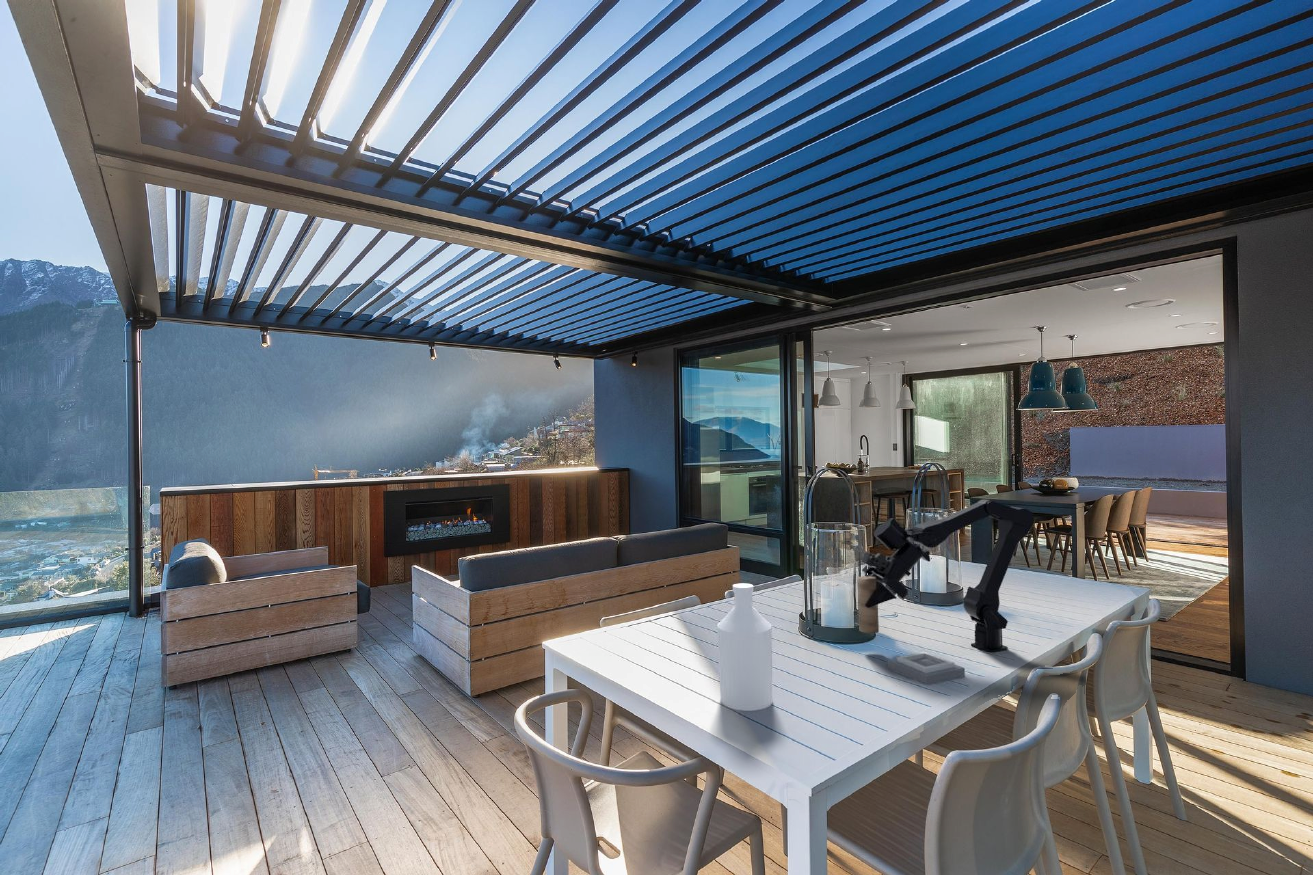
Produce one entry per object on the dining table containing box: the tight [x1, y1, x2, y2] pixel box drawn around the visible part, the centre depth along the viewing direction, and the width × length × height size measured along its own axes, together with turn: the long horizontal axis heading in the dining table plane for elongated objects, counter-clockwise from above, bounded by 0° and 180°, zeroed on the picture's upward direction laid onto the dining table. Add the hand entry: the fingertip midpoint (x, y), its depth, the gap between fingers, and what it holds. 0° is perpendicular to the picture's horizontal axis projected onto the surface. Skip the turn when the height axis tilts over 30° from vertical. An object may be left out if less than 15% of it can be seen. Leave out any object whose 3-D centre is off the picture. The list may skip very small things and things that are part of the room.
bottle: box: [716, 582, 774, 712], centre depth 134 cm, size 12×12×25 cm
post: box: [856, 575, 880, 634], centre depth 163 cm, size 5×5×14 cm
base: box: [887, 651, 966, 686], centre depth 147 cm, size 12×12×3 cm
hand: (862, 604), depth 163 cm, fingers closed on post, 5 cm apart
